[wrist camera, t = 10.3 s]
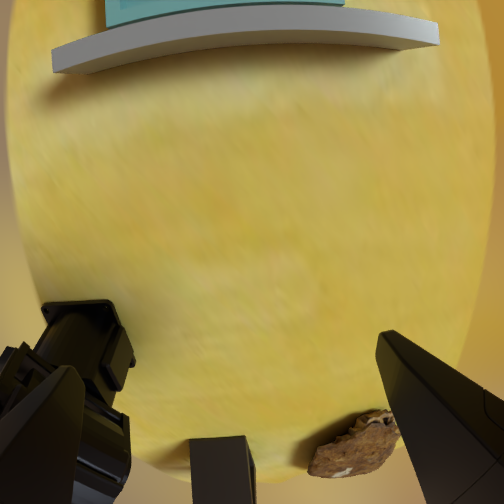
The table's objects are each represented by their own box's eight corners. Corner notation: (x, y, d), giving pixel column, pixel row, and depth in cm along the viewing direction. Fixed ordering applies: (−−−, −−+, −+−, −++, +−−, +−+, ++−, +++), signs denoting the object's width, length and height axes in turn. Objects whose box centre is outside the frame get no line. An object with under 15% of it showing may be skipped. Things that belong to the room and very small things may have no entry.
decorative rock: (309, 410, 29) (303, 464, 37) (314, 445, 26) (306, 489, 33) (414, 393, 29) (383, 451, 36) (425, 423, 25) (389, 475, 33)
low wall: (87, 74, 14) (53, 72, 11) (85, 55, 14) (51, 49, 10) (402, 50, 15) (439, 45, 11) (400, 32, 14) (437, 23, 10)
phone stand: (255, 467, 34) (261, 550, 23) (208, 469, 34) (207, 552, 23) (245, 434, 30) (251, 538, 19) (189, 437, 30) (183, 538, 19)
